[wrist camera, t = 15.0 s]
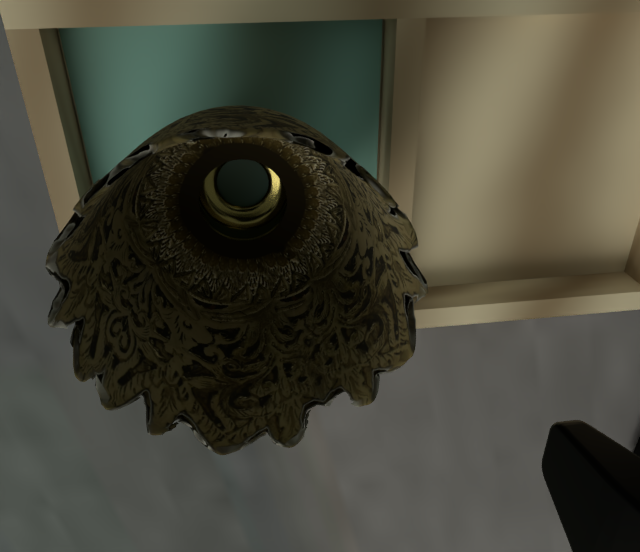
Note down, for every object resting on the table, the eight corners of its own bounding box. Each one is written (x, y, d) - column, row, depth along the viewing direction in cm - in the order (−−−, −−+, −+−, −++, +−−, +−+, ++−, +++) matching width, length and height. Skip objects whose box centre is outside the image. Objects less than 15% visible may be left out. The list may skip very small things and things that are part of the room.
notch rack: (709, -25, 18) (775, -24, 16) (622, 275, 23) (662, 307, 21) (28, -11, 16) (-5, -7, 13) (108, 315, 21) (92, 356, 19)
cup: (285, 8, 16) (323, 44, 9) (393, 215, 19) (479, 358, 12) (70, 141, 17) (-51, 269, 10) (210, 315, 20) (195, 498, 13)
